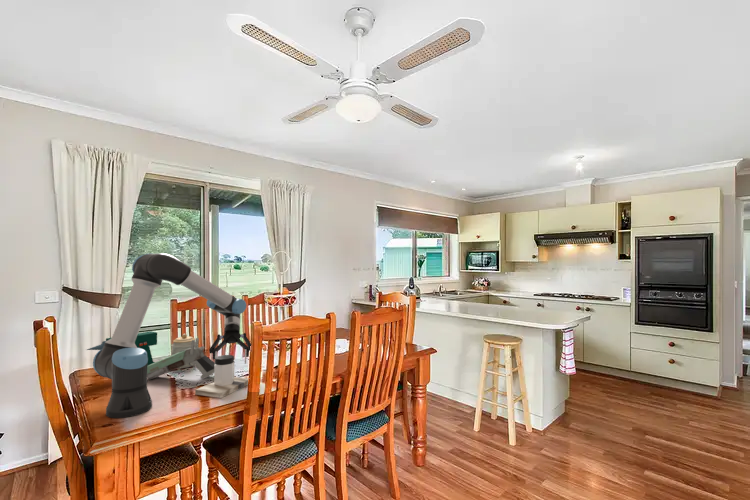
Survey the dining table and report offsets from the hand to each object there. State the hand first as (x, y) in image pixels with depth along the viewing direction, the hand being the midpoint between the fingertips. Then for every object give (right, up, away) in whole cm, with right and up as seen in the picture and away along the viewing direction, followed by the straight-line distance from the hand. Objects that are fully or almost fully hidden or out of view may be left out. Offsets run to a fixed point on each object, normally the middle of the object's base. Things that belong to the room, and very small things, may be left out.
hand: (230, 363), depth 180 cm
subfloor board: (+1, -8, -10) cm, 13 cm away
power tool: (-58, -9, +8) cm, 60 cm away
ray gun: (-27, -9, +6) cm, 29 cm away
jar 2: (0, -7, -8) cm, 11 cm away
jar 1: (-37, -10, +27) cm, 47 cm away
